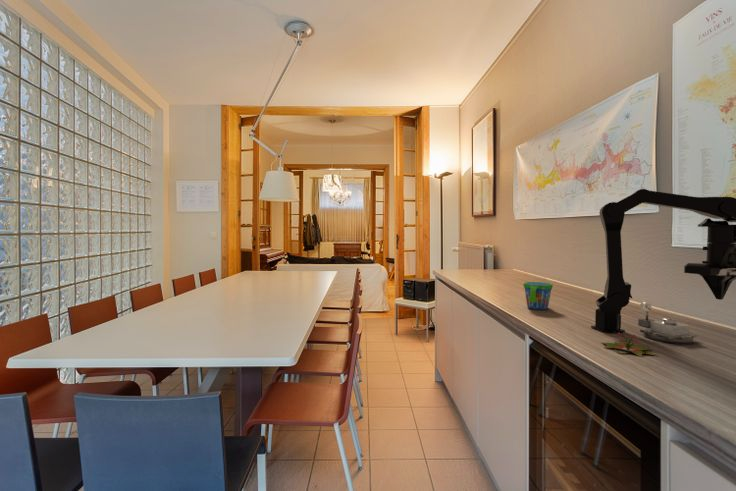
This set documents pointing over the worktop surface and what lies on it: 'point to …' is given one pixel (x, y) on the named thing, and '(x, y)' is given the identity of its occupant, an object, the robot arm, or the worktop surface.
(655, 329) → the cover
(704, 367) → the worktop surface
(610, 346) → the lily flower
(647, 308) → the dial gauge
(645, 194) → the robot arm
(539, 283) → the snack cup
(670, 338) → the turntable
